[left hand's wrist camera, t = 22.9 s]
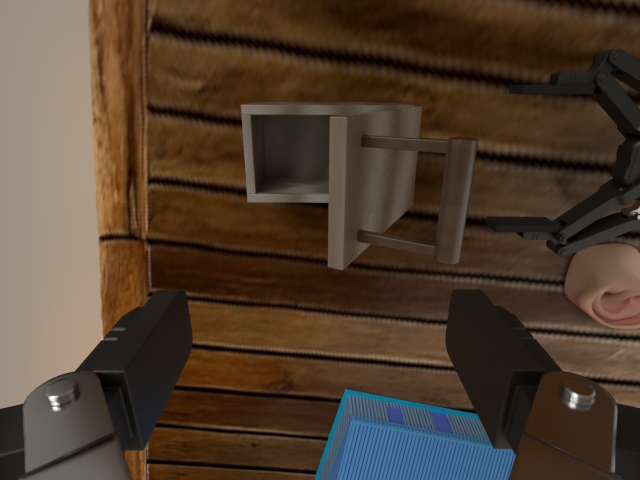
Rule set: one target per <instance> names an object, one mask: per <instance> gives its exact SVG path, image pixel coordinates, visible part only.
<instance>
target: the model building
mask: <svg viewBox="0 0 640 480" xmlns="http://www.w3.org/2000/svg"><path fill="white" fill-rule="evenodd" d="M515 456H516V455H515V453H514V452H513V450H512V449H494V448H493V446H492V444H491V442H490V440H489V438H488V436H487V434H486V432H485V429H484V427H483V425H482V423H481V421H480V419H479V417H478V415H477V414H473V413H468V412H462V411H457V410H452V409H447V408H442V407H436V406H431V405H426V404H421V403H416V402H410V401H405V400H400V399H395V398H390V397H385V396H379V395H374V394H369V393H364V392H359V391H353V390H348V389H345V392H344V395H343V397H342V400H341V403H340V406H339V409H338V412H337V415H336V418H335V421H334V424H333V427H332V429H331V432H330V435H329V438H328V441H327V444H326V447H325V450H324V453H323V456H322V459H321V461H320V464H319V467H318V470H317V473H316V476H315V480H508V478H509V475H510V472H511V469H512V466H513V462H514V459H515Z"/></svg>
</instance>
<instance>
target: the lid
mask: <svg viewBox="0 0 640 480" xmlns="http://www.w3.org/2000/svg"><path fill="white" fill-rule="evenodd" d="M421 115H422V106H406V107H398V108H390V109H383V110H375V111H368V112H360V113H353V114H345V115H338V116H331V117H330V138H329V218H328V267H330V268H334V269H339V270H344V269H345V268H346V267H347V266H348V265H349V264H350V263H351V262H352V261H353V260H354V259H355V258H356V257H358V256H359V255H360V254H361V253H362V252H363V251H364V250H365V249H366V248H367V247H368V246H369V245H371V244H372V245H377V246H383V247H388V248H393V249H398V250H403V251H408V252H414V253H419V254H424V255H429V256H434V259H435V260H436V261H438V262H440V263H444V264H456V263H458V262H459V261H460V256H461V250H462V243H463V237H464V230H465V224H466V217H467V211H468V204H469V198H470V191H471V185H472V178H473V172H474V165H475V159H476V152H477V146H478V139H476V138H469V137H451V138H449V139H448V140H443V139H427V138H419V135H420V125H421ZM418 151H421V152H434V153H447V154H446V162H445V170H444V178H443V186H442V194H441V202H440V210H439V218H438V226H437V234H436V242H435V243H433V242H427V241H422V240H416V239H411V238H405V237H399V236H394V235H388V234H383V232H385V231H386V230H387V229H388V228H389V227H390V226H391V225H392V224H393V223H394V222H395V221H396V220H397V219H399V218H400V217H401V216H402V215H403V214H404V213H405V212H406V211H407V210H408V209H409V208H410V207H411V206H413V197H414V187H415V176H416V166H417V156H418Z"/></svg>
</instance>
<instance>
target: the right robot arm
mask: <svg viewBox="0 0 640 480" xmlns="http://www.w3.org/2000/svg"><path fill="white" fill-rule="evenodd" d="M612 76H614V77H616V78H617V79H619V80H620V81H622V82H624V83H625V84H627V85H628V86H630V87H631V88H633V89H635V90H636V91H638V92H639V93H640V61H638V60H637V59H635V58H634V57H632V56H631V55H629V54H627V53H626V52H624V51H623V50H621V49H617V50H607V51H599V52H597V53H596V54H595V55H594V57H593V64H592V66H591V67H590V68H589V69H588V70H587V71H584V72H556V73H553V74H551V78H550V82H549V85H510V90H509V93H513V94H591V95H592V96H593V98H594V99H595V100H596V101H597V102H598V103H599V105H600V106H601V107H602V108H603V109H604V110H605V112H606V113H607V114H608V115H609V116H610V117H611V119H612V120H613V121H614V122H615V123H616V124H617V126H618V127H617V129H618V130H619V131H620V133H621V134H622V135H623V136H624V137H625V138H626V140H625V141H624V142H623V144H622V145H619V147H618V150H617V160H616V162H615V164H614V165H613V167H612V170H611V173H610V175H613V179H611V180H610V181H608V182H607V183H605V184H604V185H602V186H601V187H600V190H599V191H598V192H596V193H595V194H593V195H592V196H590V197H589V198H587V199H586V200H584V201H582V202H581V203H579V204H578V205H576V206H575V207H573V208H572V209H570V210H569V211H567V212H566V213H564V214H563V215H561V216H560V217H558V218H557V219H555V220H553V221H551V220H549V219H548V218H546V217H487V218H486V224H487V225H488V226H489V227H490V228H492V229H493V230H494V231H495V232H517V234H518V235H519V236H521V237H522V238H524V239H526V240H548V241H547V243H546V246H547V247H548V248H549V249H551V250H552V251H553V252H555V253H556V254H557V255H559V256H560V257H565V256H567V255H570V254H573V253H575V252H578V251H580V250H583V249H585V248H588V247H590V246H593V245H595V244H598V243H601V242H603V241H606V240H608V239H611V238H613V237H616V236H618V235H621V234H624V233H626V232H629V231H632V230H640V109H639V108H638V107H637V106H636V105H635V103H634V102H633V101H632V100H631V98H630V97H629V96H628V95H627V94H626V92H625V91H624V90H623V89H622V88H621V86H620V85H619V84H618V83H617V81H616V80H615V79H614V78H613V77H612ZM620 188H621V189H623V190H624V191H621V190H618V189H620ZM634 200H636V201H635V203H634V205H633V206H631V207H628V208H623V209H622V210H621V212H619V213H614V214H611V215H608V216H606V217H603V218H601V217H602V216H604V215H606V214H607V213H609V212H610V211H612V210H613V209H615V208H617V207H618V206H620V205H626V204H629V203H630V202H632V201H634ZM599 218H601V219H599Z"/></svg>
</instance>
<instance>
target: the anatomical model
mask: <svg viewBox="0 0 640 480" xmlns="http://www.w3.org/2000/svg"><path fill="white" fill-rule="evenodd" d="M564 291H565V294H566V296H567V297H568V298H569V299H570V300H571V301H572V302H573V303H574V304H575V305H576V306H578V307H579V308H580V309H581V310H583V311H584V312H585V313H587V314H588V315H589V316H590V317H591V318H593V319H594V320H595V321H597V322H598V323H600V324H601V325H604V326H606V327H609V328H614V329H635V328H640V253H639V252H638V251H637V249H635V248H634V247H632V246H630V245H627V244H620V243H608V244H599V245H593V246H590V247H588V248H585V249H583V250H580V251H578V252H577V253H576V254H575V255H574V257H573V259H572V261H571V263H570V266H569V269H568V272H567V275H566V279H565V285H564Z"/></svg>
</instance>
